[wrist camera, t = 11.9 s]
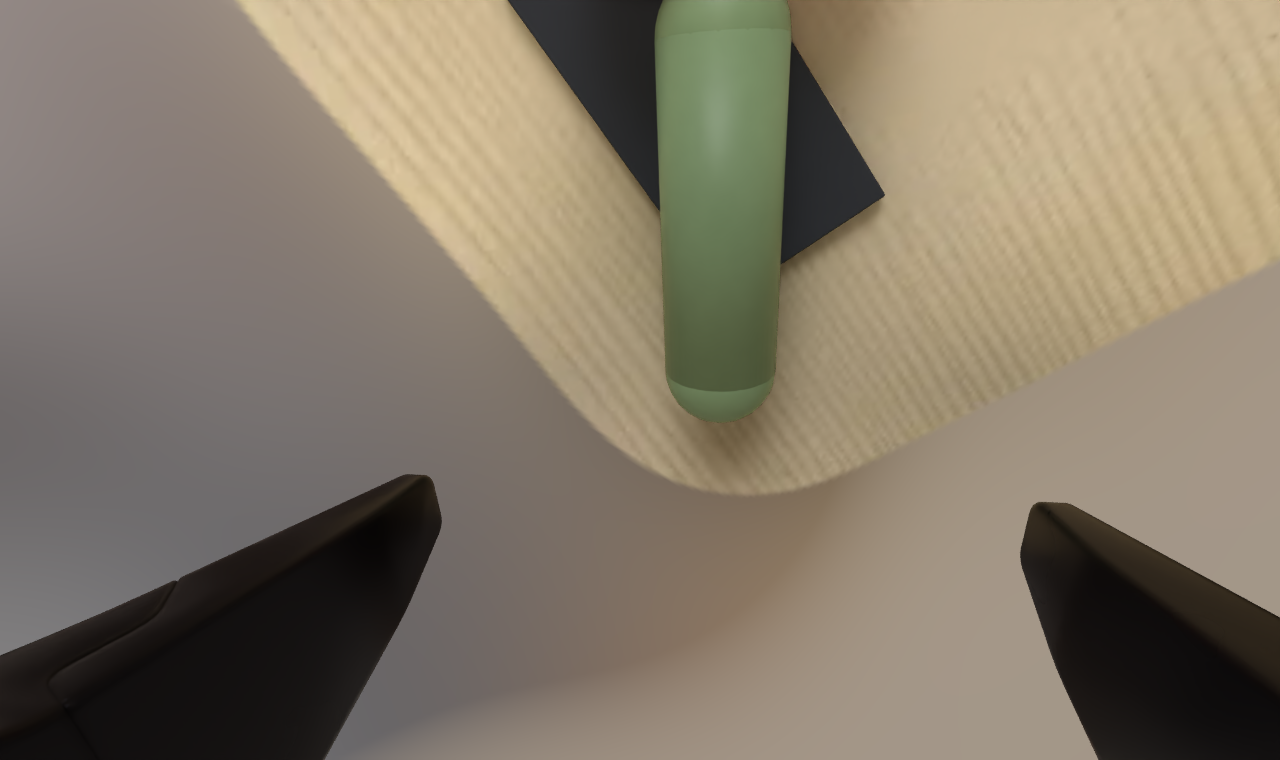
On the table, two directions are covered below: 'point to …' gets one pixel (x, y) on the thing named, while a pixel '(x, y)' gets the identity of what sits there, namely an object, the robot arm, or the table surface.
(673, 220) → the green pink knobbed rod
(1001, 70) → the table surface
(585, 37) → the placemat
